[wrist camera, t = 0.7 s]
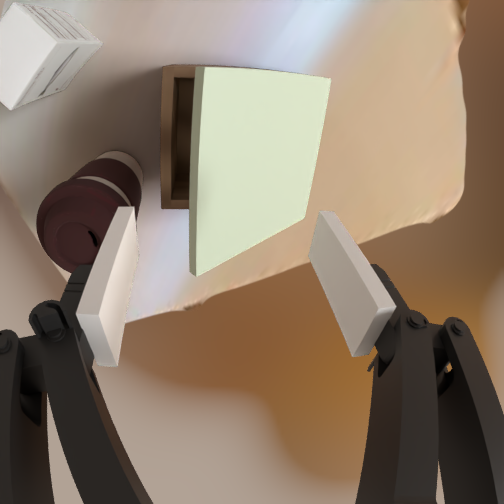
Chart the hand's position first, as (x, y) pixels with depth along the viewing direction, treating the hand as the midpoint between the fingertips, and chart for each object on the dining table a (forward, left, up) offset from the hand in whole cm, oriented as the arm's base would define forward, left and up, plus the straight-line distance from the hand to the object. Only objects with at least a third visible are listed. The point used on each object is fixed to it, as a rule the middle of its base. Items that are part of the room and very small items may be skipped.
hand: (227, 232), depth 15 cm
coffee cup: (+7, -12, -24) cm, 27 cm away
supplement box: (-10, -18, -24) cm, 31 cm away
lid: (0, +4, -11) cm, 11 cm away
